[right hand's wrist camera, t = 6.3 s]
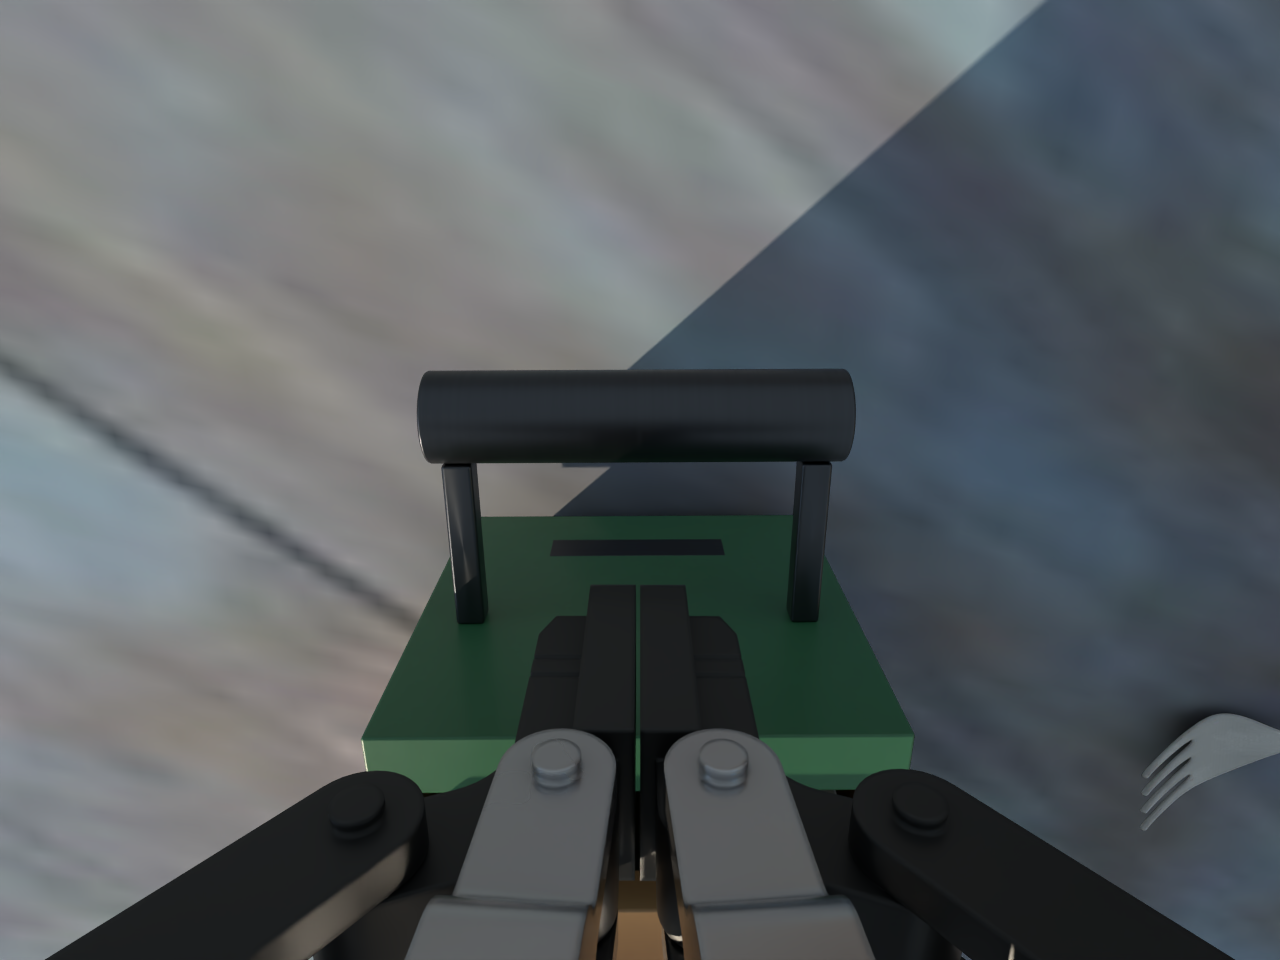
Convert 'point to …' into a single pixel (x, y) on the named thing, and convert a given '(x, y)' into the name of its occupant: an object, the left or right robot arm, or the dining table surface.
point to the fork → (1208, 756)
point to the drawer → (637, 565)
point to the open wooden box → (642, 915)
